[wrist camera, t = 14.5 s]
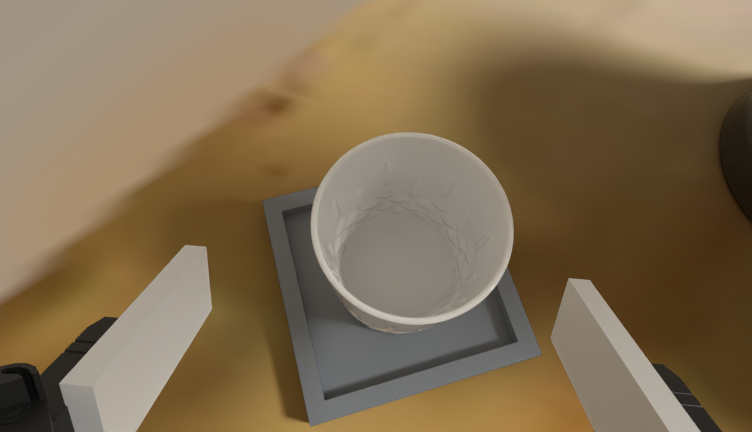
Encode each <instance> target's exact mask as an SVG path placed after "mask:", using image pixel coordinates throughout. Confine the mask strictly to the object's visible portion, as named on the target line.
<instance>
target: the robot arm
mask: <svg viewBox="0 0 752 432" xmlns="http://www.w3.org/2000/svg"><path fill="white" fill-rule="evenodd" d="M720 154H721V161H722V166H723V170H724V173H725V176H726V179H727V181H728V184H729V186H730V188H731V190H732V192H733V194H734V196H735V198H736V199H737V201H738V202H739V204H740V206H741V207H742V209H743V210H744V211H745V213H746V214H747V215H748V216H749V218H750V219H751V220H752V90H751V91H749V92H748V93H747V94H745V95H744V96H742V97H741V98H740V99H739V100H738V101H737V102H736V103H735V104H734V105H733V107H732V108H731V109H730V111H729V113H728V114H727V116H726V119H725V121H724V124H723V127H722V131H721V138H720ZM211 310H212V302H211V292H210V281H209V270H208V259H207V249H206V247H204V246H193V245H185V246H184V247H183V248H182V249H181V250H180V251H179V252H178V253H177V254H176V256H175V257H174V258H173V259H172V260H171V261H170V262H169V263H168V264H167V265H166V267H165V268H164V269H163V270H162V271H161V272H160V273H159V274H158V275H157V276H156V278H155V279H154V280H153V281H152V282H151V283H150V284H149V285H148V286H147V287H146V289H145V290H144V291H143V292H142V293H141V294H140V295H139V296H138V297H137V298H136V300H135V301H134V302H133V303H132V304H131V305H130V306H129V307H128V308H127V309H126V310H125V312H124V313H123V314H122V315H121V316H120V317H119V318H112V317H104V318H102V319H101V320H99V321H97V322H96V323H94V324H92V325H91V326H89V327H87V328H86V329H85V330H84V331H83V332H82V333H81V334H80V335H79V337H78V338H77V339H76V340H75V342H73V343H72V344H71V345H70V346H69V347H68V348H67V349H66V350H65V353H62V354H61V355H60V356H59V357H58V358H57V359H56V360H55V361H54V362H53V363H52V364H51V365H50V366H49V367H48V368H47V369H46V370H45V371H44V372H43V373H42V374H41V375H39V372H38V370H37V369H36V367H35V366H33V365H30V364H27V363H14V364H10V365H5V366H1V367H0V432H136V431H137V429H138V428H139V426H140V425H141V423H142V421H143V420H144V418H145V416H146V415H147V413H148V412H149V410H150V408H151V407H152V405H153V404H154V402H155V400H156V399H157V397H158V396H159V394H160V392H161V391H162V389H163V387H164V386H165V384H166V383H167V381H168V379H169V378H170V376H171V375H172V373H173V371H174V370H175V368H176V367H177V365H178V363H179V362H180V360H181V358H182V357H183V355H184V354H185V352H186V350H187V349H188V347H189V346H190V344H191V342H192V341H193V339H194V338H195V336H196V334H197V333H198V331H199V329H200V328H201V326H202V325H203V323H204V321H205V320H206V318H207V317H208V315H209V313H210V312H211ZM550 339H551V341H552V344H553V346H554V348H555V350H556V352H557V354H558V356H559V358H560V360H561V362H562V365H563V367H564V369H565V371H566V373H567V375H568V377H569V379H570V381H571V383H572V385H573V388H574V390H575V392H576V394H577V396H578V398H579V400H580V402H581V404H582V406H583V409H584V411H585V413H586V415H587V417H588V419H589V421H590V423H591V425H592V427H593V429H594V432H722V431H721V430H720V429H719V427H718V426H717V425H716V424H715V422H714V421H713V420H712V418H711V417H710V416H709V415H708V413H707V412H706V411H705V409H704V408H701V404H700V403H699V402H698V401H697V399H696V398H695V397H694V396H692V395H691V392H690V390H689V389H688V388H687V386H686V385H685V384H684V383H683V381H682V380H681V379H680V378H679V377H678V376H677V375H675V374H674V373H673V372H672V371H670V370H669V369H668V368H667V367H665V366H664V365H661V364H651V363H650V362H649V360H648V359H647V358H646V356H645V355H644V354H643V352H642V351H641V349H640V348H639V347H638V345H637V344H636V343H635V341H634V340H633V338H632V337H631V336H630V334H629V333H628V332H627V330H626V329H625V328H624V326H623V325H622V323H621V322H620V321H619V319H618V318H617V317H616V315H615V314H614V313H613V311H612V310H611V308H610V307H609V306H608V304H607V303H606V302H605V300H604V299H603V297H602V296H601V295H600V293H599V292H598V291H597V289H596V288H595V287H594V285H593V284H592V282H591V281H590V280H584V279H573V278H568V281H567V285H566V288H565V291H564V295H563V298H562V301H561V305H560V308H559V311H558V315H557V318H556V321H555V324H554V328H553V331H552V334H551V338H550Z"/></svg>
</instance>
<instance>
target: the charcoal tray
mask: <svg viewBox="0 0 752 432" xmlns="http://www.w3.org/2000/svg"><path fill="white" fill-rule="evenodd" d="M318 188H319V187H315V188H311V189H306V190H302V191H298V192H294V193H290V194H286V195H282V196H278V197H274V198H270V199H265V200H262V202H263V207H264V212H265V217H266V221H267V226H268V231H269V235H270V240H271V245H272V250H273V254H274V259H275V264H276V268H277V273H278V278H279V283H280V287H281V292H282V297H283V301H284V306H285V311H286V316H287V320H288V325H289V330H290V334H291V339H292V344H293V349H294V353H295V358H296V363H297V367H298V372H299V377H300V382H301V386H302V391H303V396H304V400H305V405H306V410H307V415H308V419H309V424H310V427H311V426H314V425H317V424H321V423H324V422H327V421H330V420H333V419H337V418H340V417H343V416H346V415H350V414H353V413H356V412H359V411H363V410H366V409H369V408H372V407H375V406H379V405H382V404H385V403H388V402H392V401H395V400H398V399H401V398H404V397H408V396H411V395H414V394H417V393H421V392H424V391H427V390H430V389H434V388H437V387H440V386H443V385H446V384H450V383H453V382H456V381H459V380H463V379H466V378H469V377H472V376H475V375H479V374H482V373H485V372H488V371H492V370H495V369H498V368H501V367H505V366H508V365H511V364H514V363H517V362H521V361H524V360H527V359H530V358H534V357H537V356H540V355H542V353H541V351H540V348H539V346H538V343H537V341H536V338H535V335H534V333H533V330H532V328H531V325H530V323H529V320H528V317H527V315H526V312H525V310H524V307H523V305H522V302H521V300H520V297H519V294H518V292H517V289H516V287H515V284H514V282H513V279H512V277H511V274H510V271H509V269H508V266H507V268H506V270H505V272H504V274H503V276H502V278H501V279H500V281H499V282H498V284H497V285H496V287H495V288H494V289H493V290H492V291H491V293H490V294H489V295H488V296H487V297H486V298H485V299H484V300H482V301H481V302H480V303H479V304H477V305H476V306H475V307H473V308H472V309H470V310H469V311H467V312H465V313H463V314H461V315H459V316H457V317H454V318H452V319H449V320H447V321H445V322H442V323H440V324H438V325H436V326H433V327H430V328H428V329H424V330H421V331H417V332H412V333H402V334H398V335H395V334H391V333H386V332H382V331H377V330H373V329H370V328H369V327H367V326H366V325H365V324H364V323H362V322H361V321H359V320H358V319H357V318H356V317H354V316H353V315H352V314H351V313H350V312H349V311H348V309H347V308H346V307H345V306H344V305H343V303H342V302H341V301H340V299H339V298H338V296H337V295H336V293H335V292H334V290H333V288H332V286H331V284H330V283H329V281H328V279H327V277H326V276H325V274H324V272H323V270H322V269H321V267H320V264H319V262H318V260H317V257H316V254H315V251H314V248H313V243H312V238H311V212H312V206H313V202H314V199H315V195H316V193H317V190H318Z"/></svg>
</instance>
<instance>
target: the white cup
mask: <svg viewBox="0 0 752 432" xmlns="http://www.w3.org/2000/svg"><path fill="white" fill-rule="evenodd" d="M311 238H312V243H313V248H314V251H315V254H316V257H317V260H318V262H319V264H320V267H321V269H322V270H323V272H324V274H325V276H326V277H327V279H328V281H329V283H330V284H331V286H332V288H333V290H334V292H335V293H336V295H337V296H338V298H339V299H340V301H341V302H342V303H343V305H344V306H345V307H346V308H347V309H348V311H349V312H350V313H351V314H352V315H353V316H354V317H356V318H357V319H358V320H359V321H361V322H362V323H364V324H365V325H366V326H367V327H369V328H370V329H373V330H377V331H382V332H386V333H391V334H395V335H398V334H402V333H412V332H417V331H421V330H424V329H428V328H430V327H433V326H436V325H438V324H440V323H442V322H445V321H447V320H449V319H452V318H454V317H457V316H459V315H461V314H463V313H465V312H467V311H469V310H470V309H472V308H473V307H475V306H476V305H477V304H479V303H480V302H481V301H482V300H484V299H485V298H486V297H487V296H488V295H489V294H490V293H491V291H492V290H493V289H494V288H495V287H496V285H497V284H498V282H499V281H500V279H501V278H502V276H503V274H504V272H505V270H506V268H507V265H508V262H509V260H510V256H511V252H512V247H513V239H514V225H513V217H512V212H511V208H510V204H509V201H508V199H507V196H506V194H505V192H504V190H503V188H502V186H501V184H500V182H499V181H498V179H497V178H496V176H495V175H494V174H493V172H492V171H491V170H490V169H489V168H488V167H487V166H486V164H485V163H483V162H482V161H481V160H480V159H479V158H478V157H477V156H475V155H474V154H473V153H471V152H470V151H469V150H467V149H466V148H464V147H462V146H460V145H459V144H457V143H455V142H452V141H450V140H448V139H445V138H442V137H439V136H435V135H431V134H425V133H417V132H400V133H392V134H386V135H382V136H378V137H375V138H372V139H370V140H367V141H365V142H363V143H361V144H359V145H357V146H356V147H354V148H352V149H351V150H349V151H348V152H347V153H345V154H344V155H343V156H342V157H341V158H340V159H339V160H338V161H337V162H336V163H335V164H334V165H333V166H332V167H331V168H330V170H329V171H328V172H327V174H326V175H325V177H324V178H323V180H322V182H321V184H320V186H319V188H318V190H317V193H316V195H315V199H314V202H313V206H312V212H311Z"/></svg>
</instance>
